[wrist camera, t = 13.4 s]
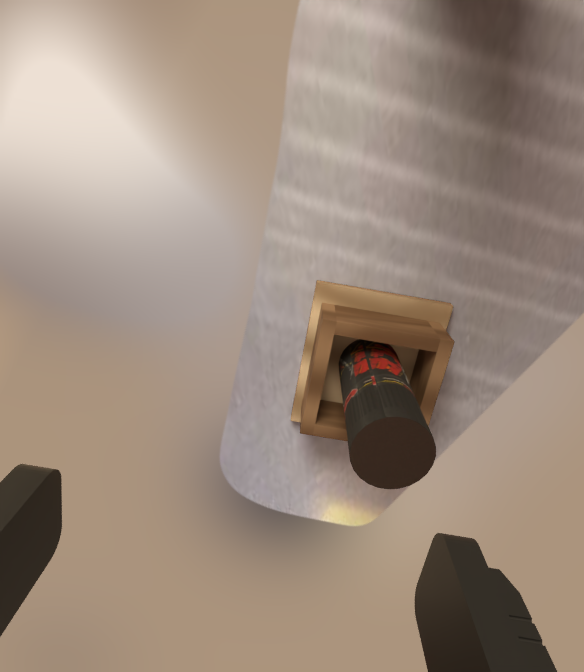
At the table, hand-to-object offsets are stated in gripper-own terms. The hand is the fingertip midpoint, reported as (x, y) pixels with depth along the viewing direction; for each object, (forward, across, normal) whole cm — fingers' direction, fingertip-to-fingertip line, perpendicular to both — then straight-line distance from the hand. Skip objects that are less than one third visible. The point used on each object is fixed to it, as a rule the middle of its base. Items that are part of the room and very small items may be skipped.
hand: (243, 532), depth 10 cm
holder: (+36, -9, +10) cm, 39 cm away
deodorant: (+35, -9, +10) cm, 38 cm away
